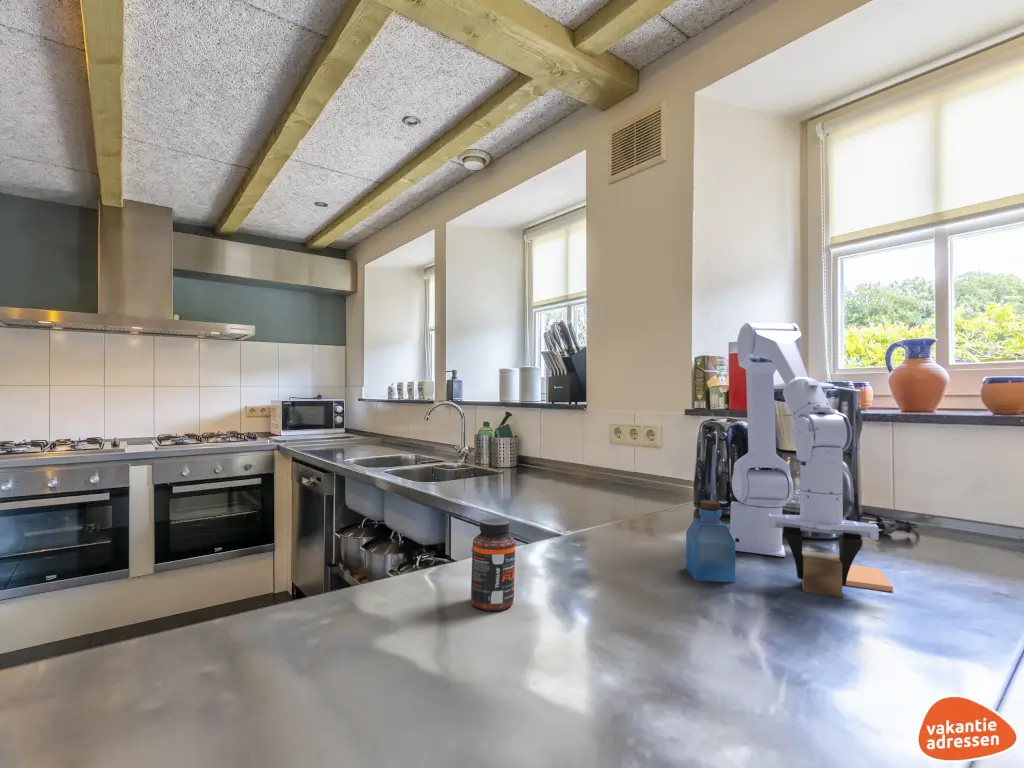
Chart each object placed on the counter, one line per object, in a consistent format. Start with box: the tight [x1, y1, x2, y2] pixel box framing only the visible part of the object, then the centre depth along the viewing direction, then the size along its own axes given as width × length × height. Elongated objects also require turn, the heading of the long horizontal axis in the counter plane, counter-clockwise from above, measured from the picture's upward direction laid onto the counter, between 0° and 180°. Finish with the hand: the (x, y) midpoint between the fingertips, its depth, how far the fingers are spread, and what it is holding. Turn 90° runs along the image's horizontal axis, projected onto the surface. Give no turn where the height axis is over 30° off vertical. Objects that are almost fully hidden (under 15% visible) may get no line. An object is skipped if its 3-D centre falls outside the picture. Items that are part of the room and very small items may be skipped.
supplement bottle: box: [470, 517, 516, 612], centre depth 72 cm, size 6×6×11 cm
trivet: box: [845, 564, 894, 593], centre depth 87 cm, size 10×10×1 cm
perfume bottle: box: [685, 499, 736, 583], centre depth 87 cm, size 6×6×12 cm
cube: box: [800, 549, 843, 598], centre depth 81 cm, size 5×5×5 cm
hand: (820, 579), depth 81 cm, fingers closed on cube, 5 cm apart
